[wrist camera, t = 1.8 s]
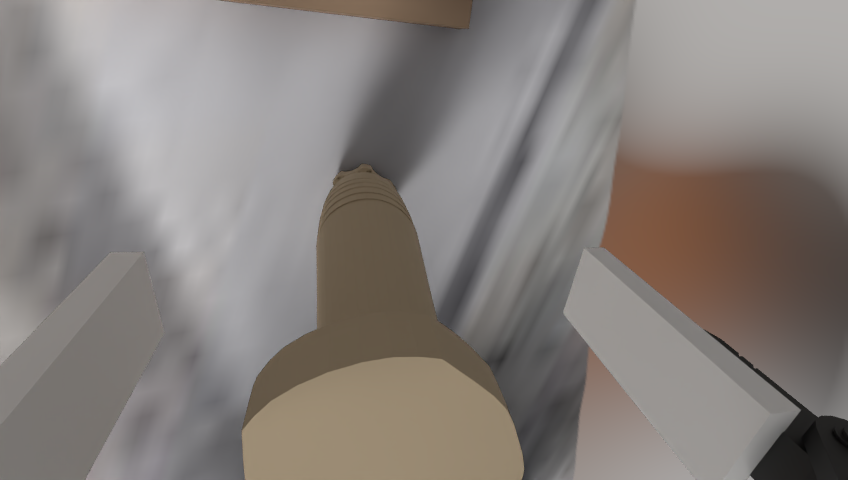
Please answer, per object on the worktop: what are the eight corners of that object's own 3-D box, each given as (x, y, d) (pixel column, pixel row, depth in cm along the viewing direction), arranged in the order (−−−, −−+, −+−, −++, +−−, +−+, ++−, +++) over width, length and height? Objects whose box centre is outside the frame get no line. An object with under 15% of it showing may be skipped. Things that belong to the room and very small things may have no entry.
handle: (341, 258, 22) (341, 593, 9) (289, 149, 19) (171, 428, 6) (424, 229, 22) (541, 520, 9) (385, 116, 19) (482, 317, 6)
